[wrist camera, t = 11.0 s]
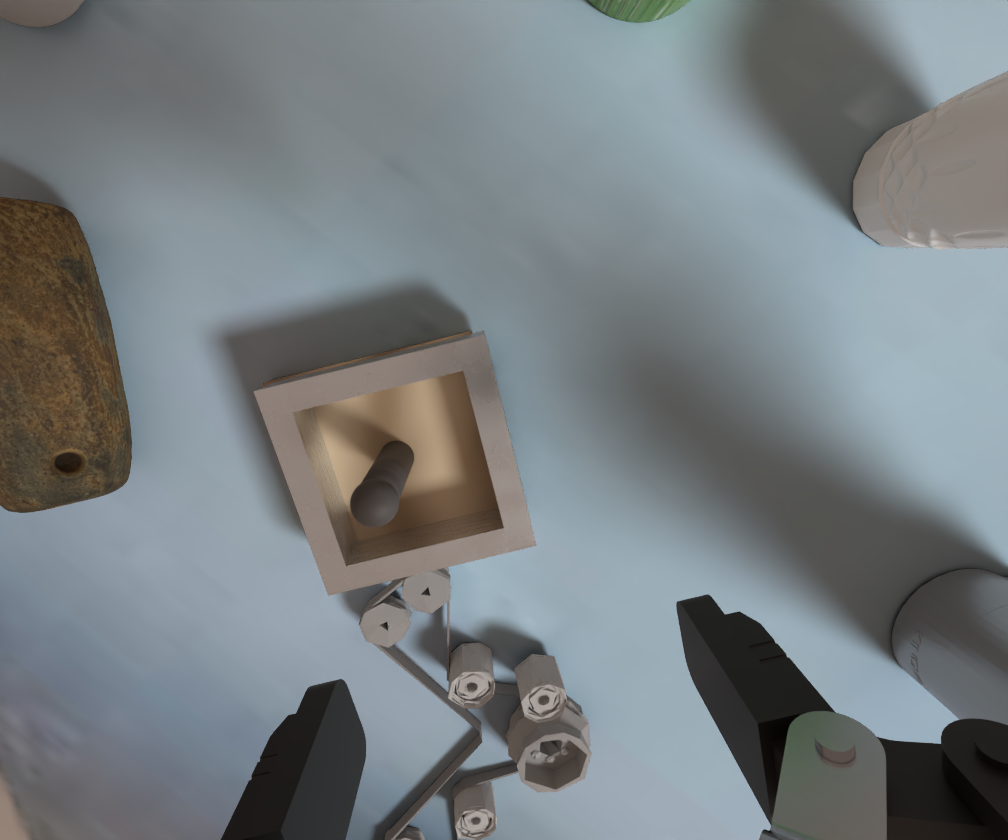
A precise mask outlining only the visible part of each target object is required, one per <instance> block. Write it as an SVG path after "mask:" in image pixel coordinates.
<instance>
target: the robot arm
mask: <svg viewBox="0 0 1008 840" xmlns="http://www.w3.org/2000/svg"><path fill="white" fill-rule="evenodd" d="M676 606H677V614H678V619H679V625H680V630H681V636H682V642H683V647H684V653H685V658H686V662H687V666H688V669H689V672H690V675H691V677H692V680H693V682H694V684H695V686H696V688H697V690H698V692H699V694H700V696H701V697H702V699H703V701H704V703H705V705H706V707H707V708H708V710H709V712H710V714H711V716H712V718H713V720H714V721H715V723H716V725H717V727H718V729H719V731H720V732H721V734H722V736H723V738H724V740H725V742H726V743H727V745H728V747H729V749H730V751H731V753H732V754H733V756H734V758H735V760H736V762H737V764H738V766H739V767H740V769H741V771H742V773H743V775H744V777H745V778H746V780H747V782H748V784H749V786H750V788H751V789H752V791H753V793H754V795H755V797H756V799H757V801H758V802H759V804H760V806H761V808H762V810H763V812H764V813H765V815H766V817H767V819H768V821H769V823H770V824H771V828H770V831H767V830H763V831H762V833H761V835H760V838H759V840H1008V577H1003V576H999V575H997V574H995V573H992V572H990V571H987V570H981V569H961V570H956V571H952V572H948V573H946V574H943V575H941V576H939V577H936V578H934V579H933V580H931V581H929V582H928V583H926V584H925V585H923V586H922V587H921V588H919V589H918V590H917V591H916V592H915V593H914V594H913V595H912V596H911V597H910V598H909V599H908V601H907V602H906V603H905V604H904V606H903V607H902V609H901V611H900V613H899V614H898V616H897V618H896V621H895V624H894V628H893V632H892V646H893V652H894V655H895V657H896V659H897V661H898V663H899V664H900V666H901V667H902V668H903V669H904V670H905V671H906V672H907V673H908V674H909V675H910V676H911V677H913V678H914V679H915V680H916V681H917V682H918V683H919V684H920V685H922V686H923V687H924V688H925V689H926V690H927V691H928V692H930V693H931V694H932V695H933V696H934V697H935V698H936V699H937V700H939V701H940V702H941V703H942V704H943V705H944V706H945V707H946V708H948V709H949V710H950V711H951V712H952V713H953V714H954V715H955V716H956V717H957V718H958V719H960V720H957V721H954V722H952V723H950V724H949V725H948V726H946V727H945V729H944V730H943V732H942V736H941V744H933V743H918V742H902V741H893V740H887V739H883V738H879V737H876V736H875V734H874V733H873V732H871V731H870V730H869V729H868V728H867V727H866V726H864V725H863V724H861V723H860V722H858V721H856V720H854V719H852V718H850V717H848V716H845V715H842V714H839V713H836V712H835V711H834V710H833V709H832V708H831V707H830V706H829V704H828V703H827V702H826V701H825V700H824V699H823V697H822V696H821V695H820V694H819V693H818V691H817V690H816V689H815V688H814V687H813V685H812V684H811V683H810V682H809V681H808V680H807V678H806V677H805V676H804V675H803V674H802V672H801V671H800V670H799V669H798V668H797V667H796V665H795V664H794V663H793V662H792V661H791V659H790V658H787V656H786V653H785V652H784V651H783V650H782V649H781V648H780V646H779V645H778V644H776V643H775V641H774V639H773V638H772V637H771V636H770V634H769V633H768V632H767V631H766V630H765V629H764V627H763V626H762V625H761V624H760V623H758V622H757V621H755V620H753V619H752V618H750V617H748V616H746V615H745V614H743V613H741V612H735V613H731V614H726V615H725V614H724V613H723V612H722V610H721V609H720V608H719V606H718V605H717V604H716V602H715V601H714V600H713V598H712V597H711V596H710V595H703V596H699V597H695V598H691V599H686V600H682V601H678V602H677V605H676ZM365 758H366V740H365V734H364V730H363V727H362V724H361V722H360V719H359V716H358V714H357V711H356V708H355V705H354V703H353V700H352V697H351V695H350V692H349V689H348V687H347V684H346V683H345V681H344V680H342V679H339V680H335V681H331V682H327V683H322V684H318V685H314V686H310V687H309V688H308V689H307V690H306V692H305V695H304V697H303V699H302V701H301V704H300V706H299V708H298V710H297V713H296V714H292V715H288V716H287V717H286V719H285V720H284V721H283V722H282V723H281V724H280V726H279V727H278V728H277V729H276V730H275V731H274V733H273V734H272V735H271V736H270V738H269V740H268V742H267V744H266V747H265V749H264V751H263V753H262V755H261V757H260V762H258V763H257V765H256V767H255V770H254V772H253V774H252V779H251V780H250V781H249V782H248V784H247V786H246V788H245V790H244V792H243V795H242V797H241V799H240V801H239V803H238V805H237V807H236V809H235V811H234V813H233V815H232V818H231V820H230V822H229V824H228V826H227V828H226V830H225V832H224V834H223V836H222V838H221V840H345V839H346V835H347V831H348V827H349V823H350V819H351V815H352V811H353V807H354V803H355V799H356V795H357V791H358V787H359V783H360V779H361V775H362V771H363V767H364V763H365Z"/></svg>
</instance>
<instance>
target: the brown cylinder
mask: <svg viewBox="0 0 1008 840" xmlns="http://www.w3.org/2000/svg"><path fill="white" fill-rule="evenodd" d="M131 446H132V439H131V428H130V419H129V411H128V405H127V401H126V396H125V392H124V387H123V381H122V376H121V372H120V366H119V361H118V356H117V351H116V346H115V340H114V335H113V330H112V325H111V320H110V317H109V314H108V310H107V307H106V303H105V298H104V295H103V291H102V289H101V286H100V282H99V278H98V275H97V271H96V268H95V265H94V261H93V258H92V255H91V252H90V249H89V246H88V244H87V242H86V240H85V237H84V235H83V232H82V230H81V228H80V225H79V223H78V221H77V219H76V217H75V216H74V215H73V214H72V213H71V212H70V211H68V210H67V209H65V208H62V207H59V206H55V205H51V204H47V203H42V202H37V201H29V200H20V199H11V198H3V197H0V505H1V506H2V507H3V508H4V509H6V510H8V511H11V512H19V513H27V512H35V511H41V510H46V509H51V508H55V507H59V506H63V505H67V504H72V503H76V502H80V501H84V500H88V499H92V498H96V497H100V496H103V495H106V494H109V493H111V492H114V491H116V490H117V489H119V488H120V487H122V486H123V485H124V484H125V483H126V482H127V480H128V478H129V474H130V468H131V459H132V454H131Z"/></svg>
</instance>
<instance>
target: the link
mask: <svg viewBox="0 0 1008 840" xmlns="http://www.w3.org/2000/svg"><path fill="white" fill-rule="evenodd" d="M460 371H463V372H464V376H465V379H466V383H467V387H468V391H469V395H470V399H471V403H472V406H473V410H474V414H475V418H476V422H477V426H478V430H479V433H480V437H481V441H482V445H483V449H484V453H485V457H486V460H487V464H488V468H489V472H490V476H491V480H492V484H493V487H494V491H495V495H496V499H497V503H498V507H496V508H492V509H488V510H484V511H480V512H475V513H471V514H467V515H463V516H459V517H455V518H451V519H446V520H442V521H438V522H434V523H430V524H426V525H422V526H417V527H413V528H409V529H405V530H401V531H397V532H393V533H388V534H384V535H380V536H376V537H372V538H368V539H364V540H359V541H358V539H357V536H356V533H355V530H354V527H353V524H352V521H351V518H350V515H349V512H348V509H347V506H346V503H345V501H344V498H343V495H342V492H341V489H340V486H339V483H338V480H337V477H336V474H335V471H334V468H333V465H332V462H331V459H330V456H329V453H328V450H327V447H326V445H325V442H324V439H323V436H322V433H321V430H320V427H319V424H318V421H317V418H316V415H315V412H314V409H313V407H316V406H320V405H325V404H329V403H333V402H337V401H341V400H345V399H349V398H353V397H357V396H361V395H366V394H370V393H374V392H378V391H382V390H386V389H390V388H394V387H398V386H402V385H407V384H411V383H415V382H419V381H423V380H427V379H431V378H435V377H439V376H443V375H448V374H452V373H456V372H460ZM254 394H255V397H256V399H257V402H258V405H259V408H260V410H261V413H262V416H263V419H264V421H265V424H266V427H267V430H268V432H269V435H270V438H271V440H272V443H273V446H274V449H275V451H276V454H277V457H278V460H279V462H280V465H281V468H282V471H283V473H284V476H285V479H286V481H287V484H288V487H289V490H290V492H291V495H292V498H293V501H294V503H295V506H296V509H297V512H298V514H299V517H300V520H301V522H302V525H303V528H304V531H305V533H306V536H307V539H308V542H309V544H310V547H311V550H312V553H313V555H314V558H315V561H316V563H317V566H318V569H319V572H320V574H321V577H322V580H323V583H324V585H325V588H326V591H327V594H328V596H329V595H333V594H337V593H341V592H346V591H350V590H354V589H358V588H362V587H366V586H371V585H375V584H379V583H383V582H387V581H391V580H396V579H400V578H404V577H408V576H412V575H416V574H420V573H425V572H429V571H433V570H437V569H441V568H445V567H450V566H454V565H458V564H462V563H466V562H470V561H475V560H479V559H483V558H487V557H491V556H495V555H500V554H504V553H508V552H512V551H516V550H520V549H525V548H529V547H533V546H536V542H535V538H534V533H533V529H532V525H531V521H530V516H529V512H528V508H527V504H526V500H525V496H524V492H523V488H522V484H521V480H520V476H519V471H518V467H517V463H516V459H515V455H514V451H513V447H512V443H511V439H510V435H509V430H508V426H507V422H506V418H505V414H504V410H503V406H502V402H501V398H500V394H499V390H498V385H497V381H496V377H495V373H494V369H493V365H492V361H491V357H490V353H489V349H488V345H487V340H486V336H485V332H484V331H480V332H476V333H471V334H467V335H463V336H459V337H455V338H451V339H447V340H443V341H439V342H435V343H431V344H426V345H422V346H418V347H414V348H410V349H406V350H402V351H398V352H394V353H390V354H386V355H381V356H377V357H373V358H369V359H365V360H361V361H357V362H353V363H349V364H345V365H341V366H336V367H332V368H328V369H324V370H320V371H316V372H312V373H308V374H304V375H300V376H296V377H292V378H287V379H283V380H279V381H276V382H273V383H271V384H269V385H267V386H264V387H262V388H260V389H258V390H255V391H254Z"/></svg>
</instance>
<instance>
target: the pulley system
mask: <svg viewBox="0 0 1008 840" xmlns="http://www.w3.org/2000/svg"><path fill="white" fill-rule="evenodd" d="M402 584H403V590H402V595H401V597H402V598H403V599H404V600H405V601H406V602H407V603H408V604H409V605H410V606H411V607H412V608H413V609H414V610H416V611H421V612H426V613H430V614H432V613H433V612H434V611H436V610H437V609H438V608H440V607H441V606H442V605H444V604H445V603H446V602H447V680H448V681H449V691H448V693H447V692H445V691H444V690H443V689H442V688H441V687H440V686H438V685H437V684H436V683H435V682H434V681H433V680H431V679H430V678H429V677H428V676H427V675H426V674H424V673H423V672H422V671H421V670H420V669H419V668H417V667H416V666H415V665H414V664H413V663H412V662H410V661H409V660H408V659H407V658H406V657H405V656H404V655H402V654H401V653H400V652H399V651H398V650H397V649H395V648H394V647H393V646H392V645H394V644H395V643H397V642H398V641H400V640H401V639H403V638H404V637H405V635H406V632H407V630H408V628H409V626H410V624H411V622H410V621H409V619H410V616H411V614H412V612H411V611H410V609H409V607H408V606H407V604H406V602H405V601H403V600H401V599H398V598H396V597H394V596H392V595H390V594H391V593H392V592H393V591H395V590H396V589H397V588H398V587H400V586H401V585H402ZM450 592H451V586H450V575H449V571H448V568H446V567H445V568H441V569H437V570H433V571H429V572H425V573H420V574H416V575H412V576H408V577H404V578H400V579H396V580H394V581H393V582H391V583H390V584H389V585H388V586H387V587H385V588H384V589H383V590H382V591H381V592H379V593H378V594H377V595H376V596H375V597H373V598H372V599H371V600H370V601H369V602H368V603H367V604H366V606H365V607H364V609H363V612H362V616H361V619H360V623H359V624H360V628H361V630H362V633H363V635H364V638H365V640H366V641H367V642H370V643H373V644H374V645H375V646H376V647H378V648H379V649H380V650H381V651H383V652H384V653H385V654H386V655H387V656H389V657H390V658H391V659H392V660H393V661H395V662H396V663H397V664H398V665H399V666H401V667H402V668H403V669H404V670H406V671H407V672H408V673H409V674H410V675H412V676H413V677H414V678H415V679H416V680H418V681H419V682H420V683H421V684H422V685H424V686H425V687H426V688H427V689H428V690H430V691H431V692H432V693H433V694H435V695H436V696H437V697H438V698H439V699H441V700H442V701H443V702H444V703H445V704H447V705H448V706H449V707H450V708H451V709H453V710H454V711H455V712H456V713H458V714H459V715H460V716H461V717H462V718H464V719H465V720H466V721H467V722H468V723H470V724H471V725H472V726H473V727H474V728H476V729H477V730H478V731H479V734H478V736H477V737H476V738H475V739H474V740H473V741H472V742H471V743H470V744H469V745H468V746H467V747H466V748H465V750H464V751H463V752H462V753H461V754H460V755H459V756H458V757H457V758H456V759H455V760H454V761H453V762H452V763H451V765H450V766H449V767H448V768H447V769H446V770H445V771H444V772H443V773H442V774H441V775H440V776H439V777H438V778H437V780H436V781H435V782H434V783H433V784H432V785H431V786H430V787H429V788H428V789H427V790H426V791H425V792H424V794H423V795H422V796H421V797H420V798H419V799H418V800H417V801H416V802H415V803H414V804H413V805H412V806H411V807H410V809H409V810H408V811H407V812H406V813H405V814H404V815H403V816H402V817H401V818H400V819H399V820H398V821H397V822H396V824H395V825H394V826H393V827H392V828H391V829H389V830H387V832H386V835H385V839H384V840H425V838H424V835H423V833H422V832H421V830H420V829H419V828H413V827H408V826H407V825H408V824H409V823H410V822H411V820H412V819H413V818H414V817H415V816H416V815H417V814H418V813H419V812H420V810H421V809H422V808H423V807H424V806H425V805H426V804H427V803H428V802H429V800H430V799H431V798H432V797H433V796H434V795H435V794H436V793H437V792H438V791H439V789H440V788H441V787H442V786H443V785H444V784H445V783H446V782H447V781H448V779H449V778H450V777H451V776H452V775H453V774H454V773H455V772H456V771H457V769H458V768H459V767H460V766H461V765H462V764H463V763H464V762H465V761H466V759H467V758H468V757H469V756H470V755H471V754H472V753H473V752H474V751H475V749H476V748H477V747H478V746H479V745H480V744H481V743H482V733H481V722H480V721H479V720H478V719H477V718H476V717H474V716H473V715H472V714H471V713H470V712H469V711H467V710H466V709H471V708H480V707H481V706H483V705H484V704H485V703H486V702H488V701H489V700H490V699H491V698H492V697H493V694H494V693H496V694H504V695H513V696H520V700H521V704H520V705H519V706H518V708H517V709H516V711H515V712H514V714H513V715H512V717H511V718H510V728H509V730H508V732H507V734H506V739H507V743H508V755H509V756H510V757H511V758H512V759H513V760H514V761H515V762H516V763H517V764H514V765H510V766H506V767H502V768H498V769H494V770H491V771H487V772H483V773H479V774H475V775H471V776H467V777H463V778H462V779H461V780H460V781H459V782H458V783H456V784H455V785H454V786H453V787H452V794H453V806H454V814H455V828H456V832H457V840H460V838H461V839H474V840H479V839H481V838H484V837H487V836H490V835H491V834H492V833H493V832H494V830H495V829H496V822H497V817H496V811H495V801H494V788H493V786H492V784H491V782H489V781H492V780H496V779H499V778H502V777H505V776H509V775H512V774H515V773H518V772H519V775H520V779H521V781H522V782H523V783H525V784H526V785H528V786H529V787H531V788H532V789H534V790H535V791H537V792H558V791H560V790H562V789H564V788H566V787H568V786H570V785H572V784H575V783H577V782H579V781H581V780H583V779H585V776H586V772H587V768H588V764H589V760H590V756H591V751H590V749H589V747H590V734H589V723H588V720H587V718H586V717H585V716H584V715H583V713H582V709H581V706H579V705H578V704H577V703H576V702H575V701H573V700H572V699H571V698H569V697H568V696H567V695H566V692H565V688H564V685H563V681H562V678H561V674H560V671H559V668H558V665H557V662H556V660H555V657H554V656H547V655H538V654H531V655H530V656H529V657H528V658H526V659H525V660H524V661H523V662H522V663H520V664H519V665H518V666H517V667H515V668H514V671H515V675H516V680H517V684H518V686H516V685H511V684H502V683H495V682H494V673H493V663H492V652H491V649H490V648H488V647H487V646H485V645H483V644H482V643H465V644H461V645H460V646H459V647H457V648H456V649H455V650H454V651H453V652H452V653H451V654H450V660H449V600H450ZM449 667H450V670H449Z"/></svg>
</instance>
